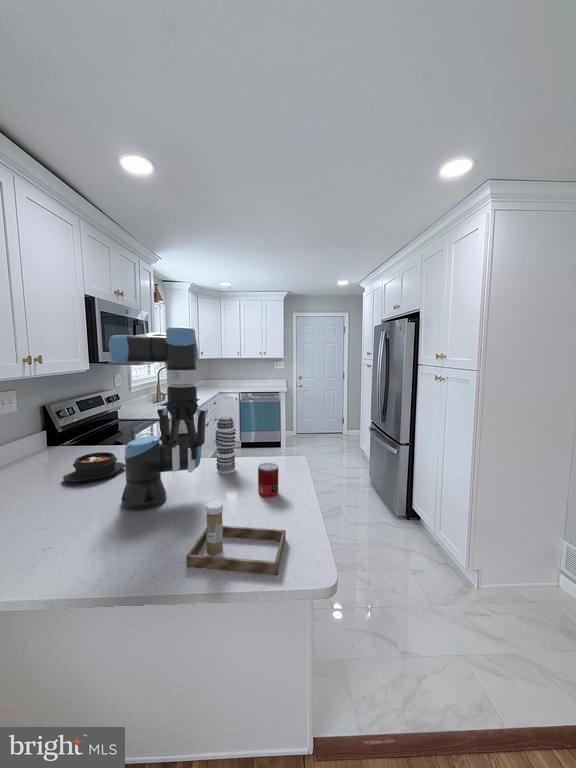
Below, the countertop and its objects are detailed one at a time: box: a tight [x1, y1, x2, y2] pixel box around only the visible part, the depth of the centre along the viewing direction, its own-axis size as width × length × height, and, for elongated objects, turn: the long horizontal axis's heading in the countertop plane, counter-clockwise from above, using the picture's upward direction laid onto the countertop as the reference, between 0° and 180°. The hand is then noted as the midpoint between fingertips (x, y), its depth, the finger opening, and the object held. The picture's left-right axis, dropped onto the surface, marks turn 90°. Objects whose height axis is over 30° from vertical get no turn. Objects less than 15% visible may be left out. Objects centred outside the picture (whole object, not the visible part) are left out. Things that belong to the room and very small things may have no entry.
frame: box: [185, 525, 287, 576], centre depth 90 cm, size 24×16×3 cm, turn 83°
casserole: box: [62, 451, 126, 483], centre depth 146 cm, size 25×19×8 cm
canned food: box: [257, 462, 279, 498], centre depth 129 cm, size 8×8×11 cm
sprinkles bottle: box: [205, 500, 224, 556], centre depth 91 cm, size 5×5×13 cm
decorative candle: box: [215, 416, 237, 475], centre depth 152 cm, size 9×9×25 cm
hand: (183, 470), depth 90 cm, fingers open, 4 cm apart
